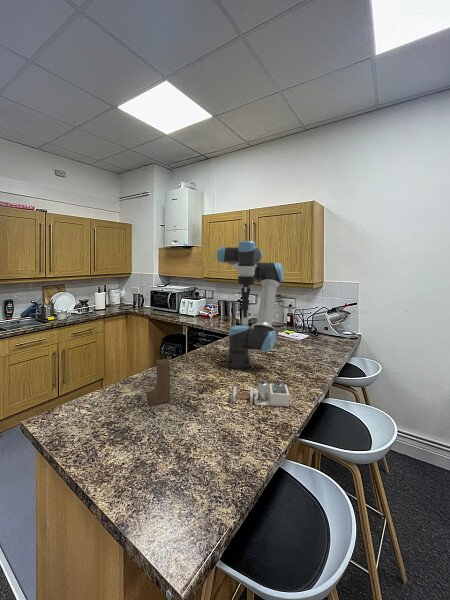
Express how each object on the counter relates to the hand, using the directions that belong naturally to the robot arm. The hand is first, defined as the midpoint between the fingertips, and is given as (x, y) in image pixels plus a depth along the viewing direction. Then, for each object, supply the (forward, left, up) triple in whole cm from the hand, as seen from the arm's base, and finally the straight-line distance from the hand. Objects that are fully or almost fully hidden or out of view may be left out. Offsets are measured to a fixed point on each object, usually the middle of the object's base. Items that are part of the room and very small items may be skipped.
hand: (245, 321), depth 131 cm
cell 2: (+13, +15, -31) cm, 37 cm away
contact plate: (+12, 0, -32) cm, 35 cm away
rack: (+13, +12, -33) cm, 37 cm away
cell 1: (+13, +9, -31) cm, 35 cm away
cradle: (+12, 0, -33) cm, 35 cm away
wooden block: (+18, -36, -33) cm, 52 cm away
